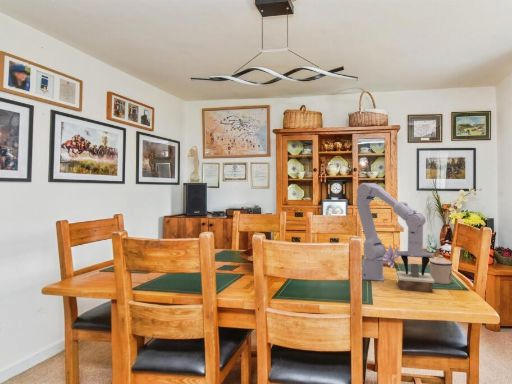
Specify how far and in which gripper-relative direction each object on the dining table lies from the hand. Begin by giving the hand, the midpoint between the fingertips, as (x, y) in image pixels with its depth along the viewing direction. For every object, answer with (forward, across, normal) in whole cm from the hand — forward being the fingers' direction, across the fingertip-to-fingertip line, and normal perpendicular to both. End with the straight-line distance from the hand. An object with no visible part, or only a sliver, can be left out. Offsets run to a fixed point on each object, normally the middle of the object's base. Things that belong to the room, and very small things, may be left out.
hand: (414, 274), depth 151 cm
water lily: (+6, -9, +40) cm, 41 cm away
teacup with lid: (+6, +12, +15) cm, 20 cm away
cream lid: (+1, 0, 0) cm, 1 cm away
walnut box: (+5, 0, 0) cm, 5 cm away
